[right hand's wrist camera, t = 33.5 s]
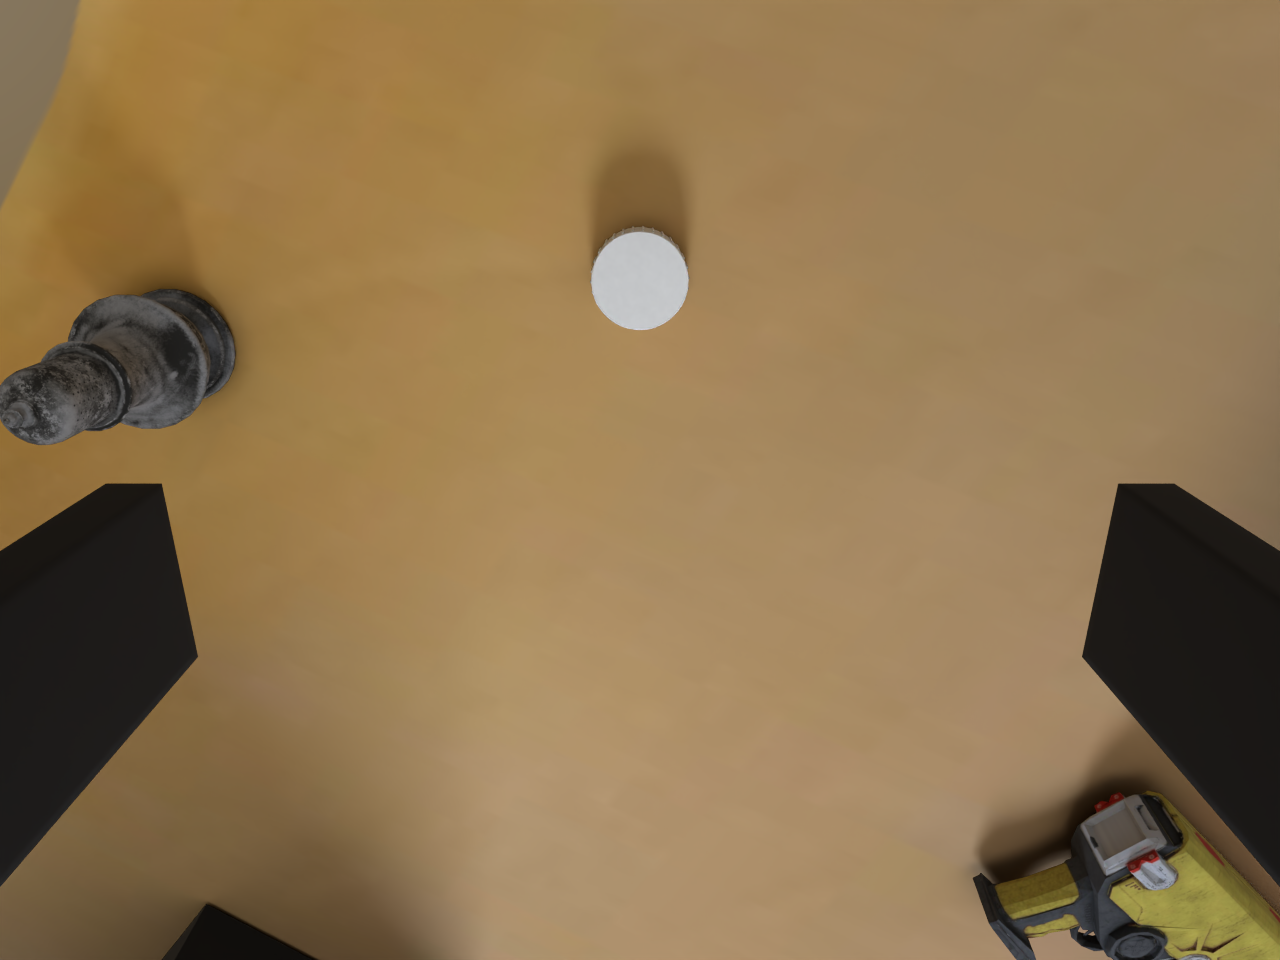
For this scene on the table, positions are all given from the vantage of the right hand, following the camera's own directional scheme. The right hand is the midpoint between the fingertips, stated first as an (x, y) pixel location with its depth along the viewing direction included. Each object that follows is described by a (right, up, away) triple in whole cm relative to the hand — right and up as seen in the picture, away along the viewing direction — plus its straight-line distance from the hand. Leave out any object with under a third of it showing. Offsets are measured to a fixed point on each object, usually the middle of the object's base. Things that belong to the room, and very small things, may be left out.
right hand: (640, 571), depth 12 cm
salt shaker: (-22, +8, +29) cm, 37 cm away
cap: (0, +10, +26) cm, 28 cm away
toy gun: (+31, -27, +42) cm, 59 cm away
